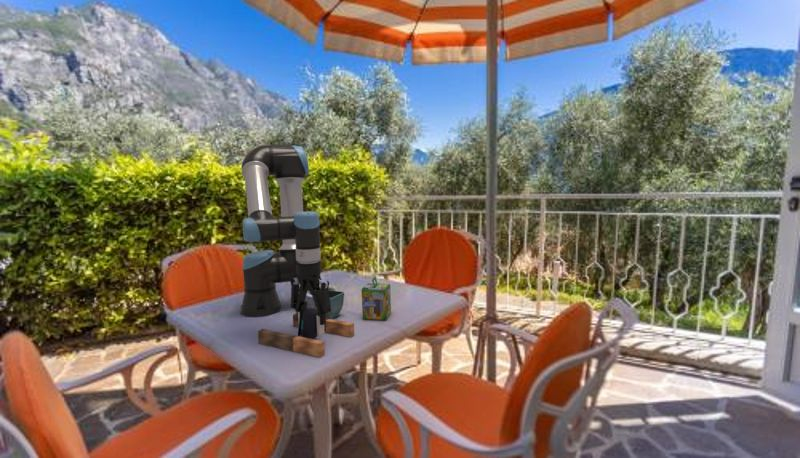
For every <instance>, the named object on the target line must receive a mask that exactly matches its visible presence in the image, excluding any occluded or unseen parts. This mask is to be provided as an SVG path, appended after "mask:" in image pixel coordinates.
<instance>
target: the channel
mask: <svg viewBox="0 0 800 458" xmlns="http://www.w3.org/2000/svg"><path fill="white" fill-rule="evenodd" d="M292 325H293V326H292V327H296V328H299V327H298V321H297V315H296V313H294V314H292ZM324 332H325V333H327V334H333V335H337V336H343V337H349V338H352V337H353V336H355V323H354V322H348V321H342V320H338V319H333V318H332V319H326V323H325V324H324ZM257 337H258V344H260V345H264V346H269V347H274V348H278V349H281V350H285V351H291V352H295V353H298V354H299V353H300V354H303V355H304V354H305V355H308V356H311V357H312V356H313V357H317V358H322V357H324V356H325V355H326V354H325V353H326V352H325V351H326V350H325V349H326V348H325V341H323V340H319V339H315V338H310V339H309V338H305V337H301V335H300V336H298V335H295V334H290V333H285V332H280V331H275V330H270V329H265V328H262V329H259V330H258V331H257Z"/></svg>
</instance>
